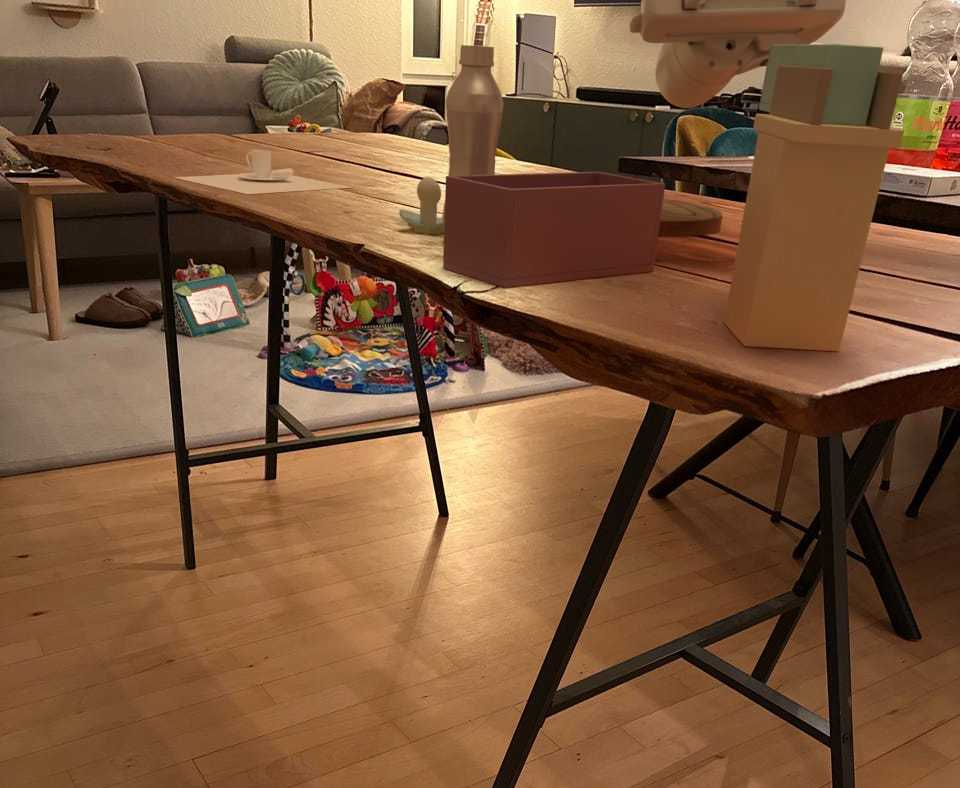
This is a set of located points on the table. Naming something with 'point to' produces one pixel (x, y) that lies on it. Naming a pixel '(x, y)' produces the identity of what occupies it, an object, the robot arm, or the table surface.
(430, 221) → the pacifier
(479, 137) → the plastic bottle
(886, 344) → the table surface
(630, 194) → the open storage box
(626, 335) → the table surface
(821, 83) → the tan trash bin
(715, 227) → the trivet
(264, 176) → the teacup and saucer
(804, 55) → the pale green box
